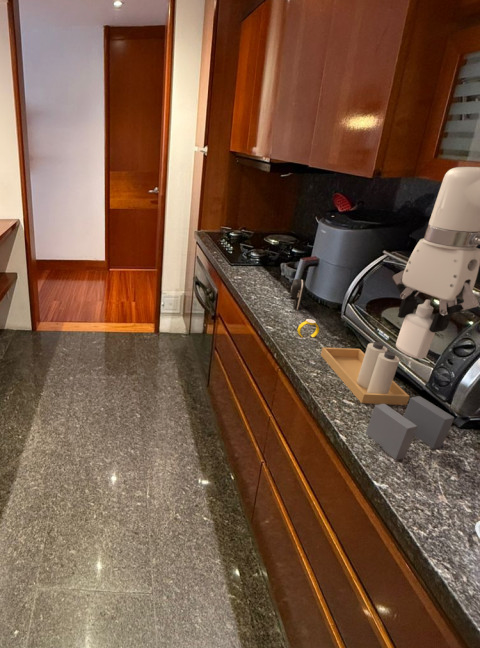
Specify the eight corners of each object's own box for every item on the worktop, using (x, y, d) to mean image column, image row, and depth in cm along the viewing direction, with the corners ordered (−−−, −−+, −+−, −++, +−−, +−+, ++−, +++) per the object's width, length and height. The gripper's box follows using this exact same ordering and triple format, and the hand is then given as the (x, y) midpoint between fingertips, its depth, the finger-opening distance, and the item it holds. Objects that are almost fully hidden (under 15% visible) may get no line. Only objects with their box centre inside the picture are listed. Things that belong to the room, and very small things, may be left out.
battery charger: (287, 305, 144) (292, 276, 140) (298, 307, 142) (304, 278, 138) (287, 313, 138) (293, 283, 134) (298, 315, 137) (305, 285, 132)
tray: (320, 356, 112) (322, 347, 110) (356, 358, 111) (359, 348, 110) (360, 405, 92) (364, 394, 91) (405, 407, 91) (409, 396, 90)
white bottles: (353, 379, 100) (365, 339, 96) (369, 380, 100) (382, 339, 96) (372, 400, 93) (386, 357, 88) (390, 401, 92) (405, 358, 88)
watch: (298, 339, 121) (302, 322, 118) (294, 335, 123) (298, 318, 121) (318, 340, 120) (322, 323, 118) (314, 335, 123) (318, 318, 121)
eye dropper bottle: (401, 356, 79) (419, 304, 75) (393, 343, 84) (410, 293, 79) (427, 361, 78) (447, 307, 73) (417, 347, 83) (436, 296, 78)
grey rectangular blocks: (408, 425, 86) (419, 395, 83) (441, 448, 80) (454, 417, 76) (364, 435, 83) (374, 405, 80) (395, 460, 77) (407, 428, 74)
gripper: (523, 248, 65) (482, 341, 72) (418, 225, 80) (393, 304, 87) (491, 251, 63) (452, 347, 70) (391, 227, 78) (367, 308, 85)
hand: (420, 322), depth 78 cm, fingers closed on eye dropper bottle, 5 cm apart
